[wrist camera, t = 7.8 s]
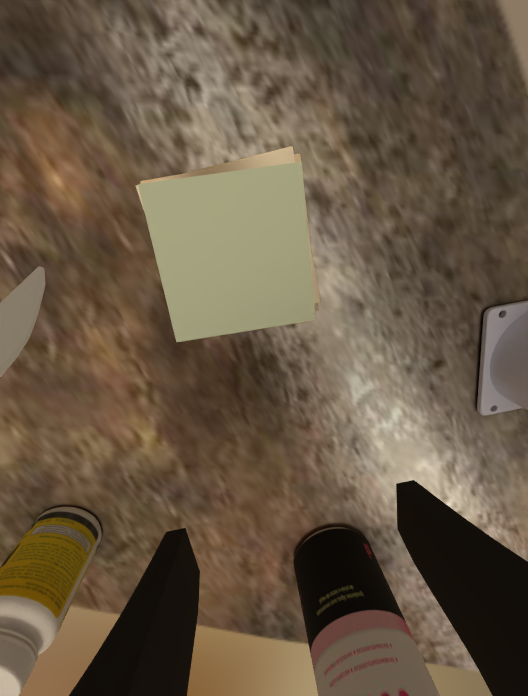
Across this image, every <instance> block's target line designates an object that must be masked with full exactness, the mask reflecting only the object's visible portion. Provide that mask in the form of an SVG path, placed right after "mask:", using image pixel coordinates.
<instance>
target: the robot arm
mask: <svg viewBox="0 0 528 696" xmlns="http://www.w3.org/2000/svg"><path fill="white" fill-rule="evenodd" d="M500 312H501V315H500V316H499V313H500ZM491 407H492V408H491ZM520 408H524V409H526V410H528V300H527V301H521V302H516V303H511V304H505V305H500V306H495V307H491V308H488V309H487V310H486V311H485V313H484V317H483V331H482V346H481V360H480V374H479V388H478V402H477V411H478V412H479V413H480V414H482V415H484V416H485V415H491V414H496V413H501V412H506V411H511V410H516V409H520ZM396 489H397V526H398V531H399V533H400V535H401V537H402V539H403V541H404V543H405V546H406V548H407V550H408V552H409V554H410V556H411V558H412V560H413V562H414V563H415V565H416V567H417V568H418V570H419V572H420V573H421V575H422V577H423V578H424V580H425V582H426V583H427V585H428V587H429V588H430V590H431V592H432V593H433V595H434V596H435V598H436V600H437V601H438V603H439V604H440V606H441V608H442V609H443V611H444V613H445V614H446V616H447V617H448V619H449V621H450V622H451V624H452V626H453V627H454V629H455V630H456V632H457V634H458V635H459V637H460V639H461V640H462V642H463V643H464V645H465V647H466V648H467V650H468V652H469V653H470V655H471V657H472V659H473V660H474V662H475V664H476V666H477V667H478V669H479V671H480V673H481V675H482V677H483V678H484V680H485V682H486V684H487V686H488V688H489V690H490V692H491V694H492V695H493V696H528V562H527V561H526V560H524V559H523V558H521V557H520V556H518V555H517V554H515V553H514V552H512V551H511V550H509V549H508V548H506V547H505V546H503V545H502V544H500V543H499V542H497V541H496V540H494V539H493V538H491V537H490V536H489V535H487V534H486V533H484V532H483V531H482V530H480V529H479V528H477V527H476V526H475V525H473V524H472V523H470V522H469V521H468V520H466V519H465V518H463V517H462V516H461V515H459V514H458V513H457V512H455V511H454V510H453V509H451V508H450V507H449V506H447V505H446V504H445V503H443V502H442V501H441V500H439V499H438V498H437V497H435V496H434V495H433V494H431V493H430V492H429V491H428V490H426V489H425V488H424V487H422V486H421V485H420V484H418V483H417V482H416V481H414V480H412V481H408V482H403V483H398V484H396ZM199 578H200V571H199V568H198V565H197V562H196V559H195V556H194V553H193V550H192V547H191V544H190V541H189V538H188V535H187V532H186V529H185V528H183V529H178V530H173V531H168V532H166V534H165V535H164V537H163V539H162V541H161V543H160V545H159V547H158V548H157V550H156V552H155V554H154V556H153V558H152V560H151V562H150V564H149V565H148V567H147V569H146V571H145V573H144V575H143V576H142V578H141V580H140V582H139V584H138V585H137V587H136V589H135V591H134V592H133V594H132V596H131V598H130V600H129V601H128V603H127V605H126V607H125V608H124V610H123V612H122V613H121V615H120V617H119V618H118V620H117V622H116V623H115V625H114V627H113V628H112V630H111V631H110V633H109V635H108V636H107V638H106V640H105V641H104V643H103V644H102V646H101V648H100V649H99V651H98V653H97V654H96V656H95V657H94V659H93V661H92V662H91V664H90V665H89V666H88V668H87V670H86V671H85V673H84V674H83V676H82V677H81V679H80V680H79V682H78V683H77V685H76V686H75V688H74V689H73V690H72V692H71V693H70V695H69V696H187V689H188V682H189V675H190V668H191V660H192V653H193V646H194V637H195V631H196V623H197V615H198V602H199Z"/></svg>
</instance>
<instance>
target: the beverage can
mask: <svg viewBox="0 0 528 696" xmlns="http://www.w3.org/2000/svg"><path fill="white" fill-rule="evenodd" d="M294 569H295V574H296V579H297V585H298V590H299V595H300V600H301V606H302V611H303V616H304V622H305V627H306V632H307V637H308V643H309V647H310V653H311V658H312V663H313V669H314V674H315V679H316V685H317V690H318V695H319V696H440V695H439V692H438V690H437V688H436V686H435V684H434V682H433V680H432V677H431V675H430V673H429V671H428V669H427V667H426V665H425V662H424V660H423V658H422V656H421V654H420V652H419V650H418V647H417V645H416V643H415V641H414V639H413V637H412V634H411V632H410V630H409V628H408V626H407V624H406V622H405V619H404V617H403V615H402V613H401V611H400V609H399V607H398V604H397V602H396V600H395V598H394V596H393V594H392V591H391V589H390V587H389V585H388V583H387V581H386V579H385V576H384V574H383V572H382V570H381V568H380V566H379V564H378V561H377V559H376V557H375V555H374V553H373V551H372V549H371V546H370V544H369V542H368V541H367V539H366V538H365V537H364V536H363V535H362V534H360V533H359V532H357V531H354V530H351V529H348V528H343V527H330V528H326V529H322V530H320V531H317V532H315V533H314V534H312V535H311V536H309V537H308V538H307V539H306V540H305V541H304V542H303V543H302V545H301V546H300V547H299V549H298V550H297V552H296V555H295V558H294Z"/></svg>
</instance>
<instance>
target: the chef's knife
mask: <svg viewBox="0 0 528 696" xmlns="http://www.w3.org/2000/svg"><path fill="white" fill-rule="evenodd" d="M44 288H45V273H44V268H42V267H40V266H39V267H38V268H37V269H35V270H34V271H33V272H32V273H31V274H30V275H29V276H28V277H27V278H26V279H25V280H24V281H23V282H22V283H21V284H20V285H19V286H18V287H16V288H15V289H14V290H13V291H12V292H11V293H10V294H9V295H8V296H7V297H6V298H5V299H4V300H3V301H2V302H1V303H0V377H1V376H2V375H3V374H4V373H5V371H6V370H7V369H8V368H9V367H10V365H11V364H12V363H13V362H14V360H15V359H16V358H17V357H18V355H19V354H20V352H21V350H22V349H23V347H24V346H25V344H26V343H27V341H28V339H29V338H30V335H31V332H32V330H33V327H34V324H35V322H36V319H37V316H38V313H39V309H40V305H41V300H42V296H43V292H44Z"/></svg>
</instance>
